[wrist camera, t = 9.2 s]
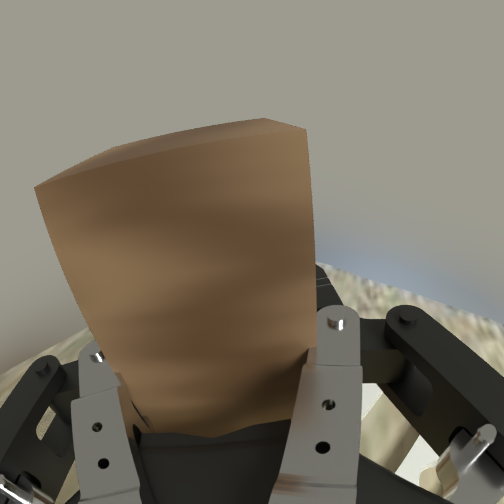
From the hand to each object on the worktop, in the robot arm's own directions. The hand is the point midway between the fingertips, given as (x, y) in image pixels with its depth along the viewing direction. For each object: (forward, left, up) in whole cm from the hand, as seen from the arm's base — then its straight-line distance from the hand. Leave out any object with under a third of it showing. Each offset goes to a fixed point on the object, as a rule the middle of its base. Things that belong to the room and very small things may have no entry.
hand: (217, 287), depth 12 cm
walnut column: (+1, -2, -9) cm, 9 cm away
